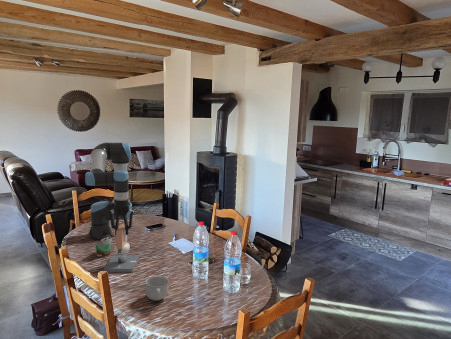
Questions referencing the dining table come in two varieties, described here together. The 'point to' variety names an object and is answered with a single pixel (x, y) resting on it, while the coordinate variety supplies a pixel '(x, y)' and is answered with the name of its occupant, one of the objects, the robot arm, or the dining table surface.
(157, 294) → the teacup
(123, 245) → the brown box
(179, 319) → the dining table surface
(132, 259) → the post base
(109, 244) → the food container
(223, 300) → the dining table surface
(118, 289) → the dining table surface
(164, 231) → the dining table surface
